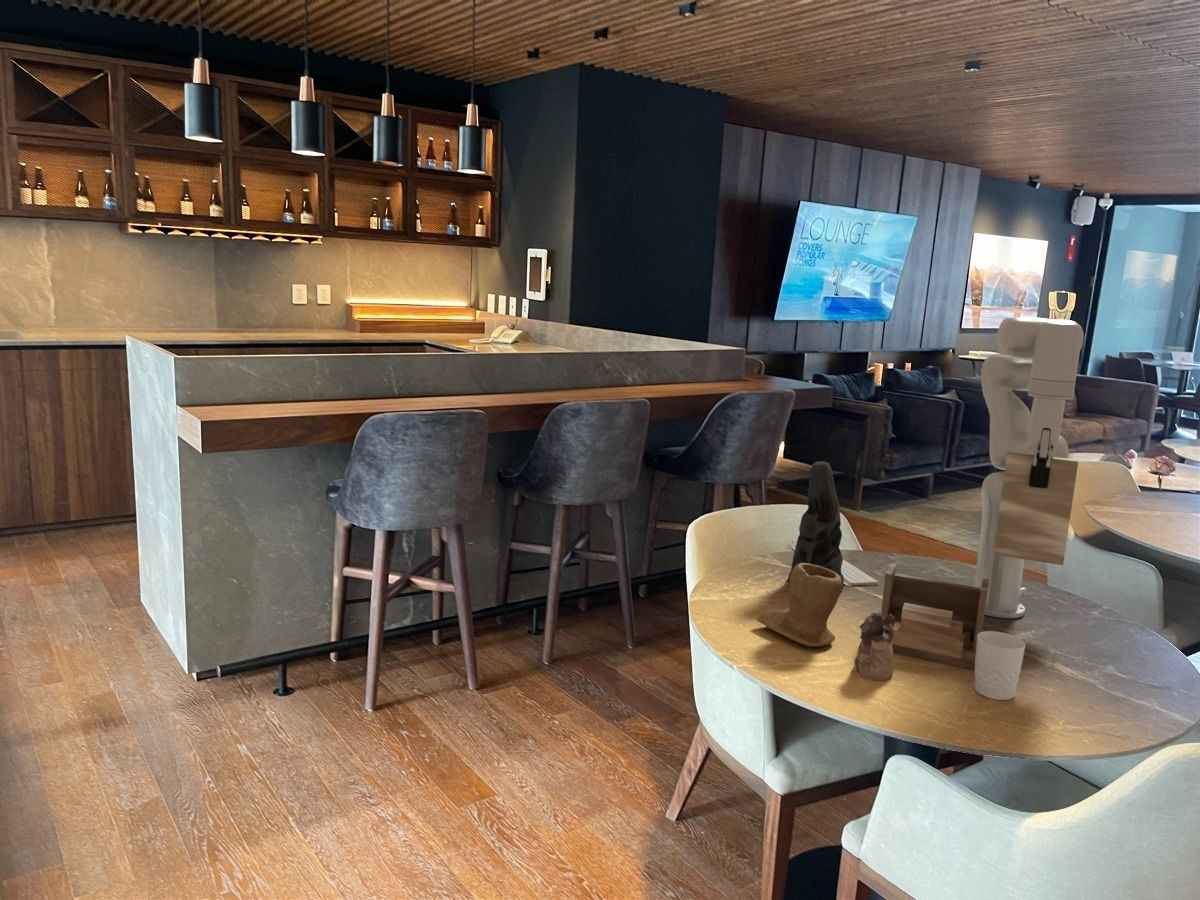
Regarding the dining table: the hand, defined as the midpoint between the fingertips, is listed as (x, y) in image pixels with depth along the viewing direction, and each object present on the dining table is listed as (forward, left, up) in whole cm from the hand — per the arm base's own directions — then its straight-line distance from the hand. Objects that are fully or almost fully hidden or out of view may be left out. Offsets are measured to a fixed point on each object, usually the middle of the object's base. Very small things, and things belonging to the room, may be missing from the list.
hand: (1037, 485), depth 166 cm
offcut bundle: (+14, -10, -34) cm, 38 cm away
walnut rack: (+11, -12, -35) cm, 39 cm away
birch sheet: (0, 0, -15) cm, 15 cm away
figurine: (+30, -10, -35) cm, 47 cm away
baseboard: (-12, -57, -36) cm, 69 cm away
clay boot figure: (+29, -29, -35) cm, 54 cm away
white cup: (+17, +7, -35) cm, 40 cm away
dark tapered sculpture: (+3, -49, -35) cm, 60 cm away
